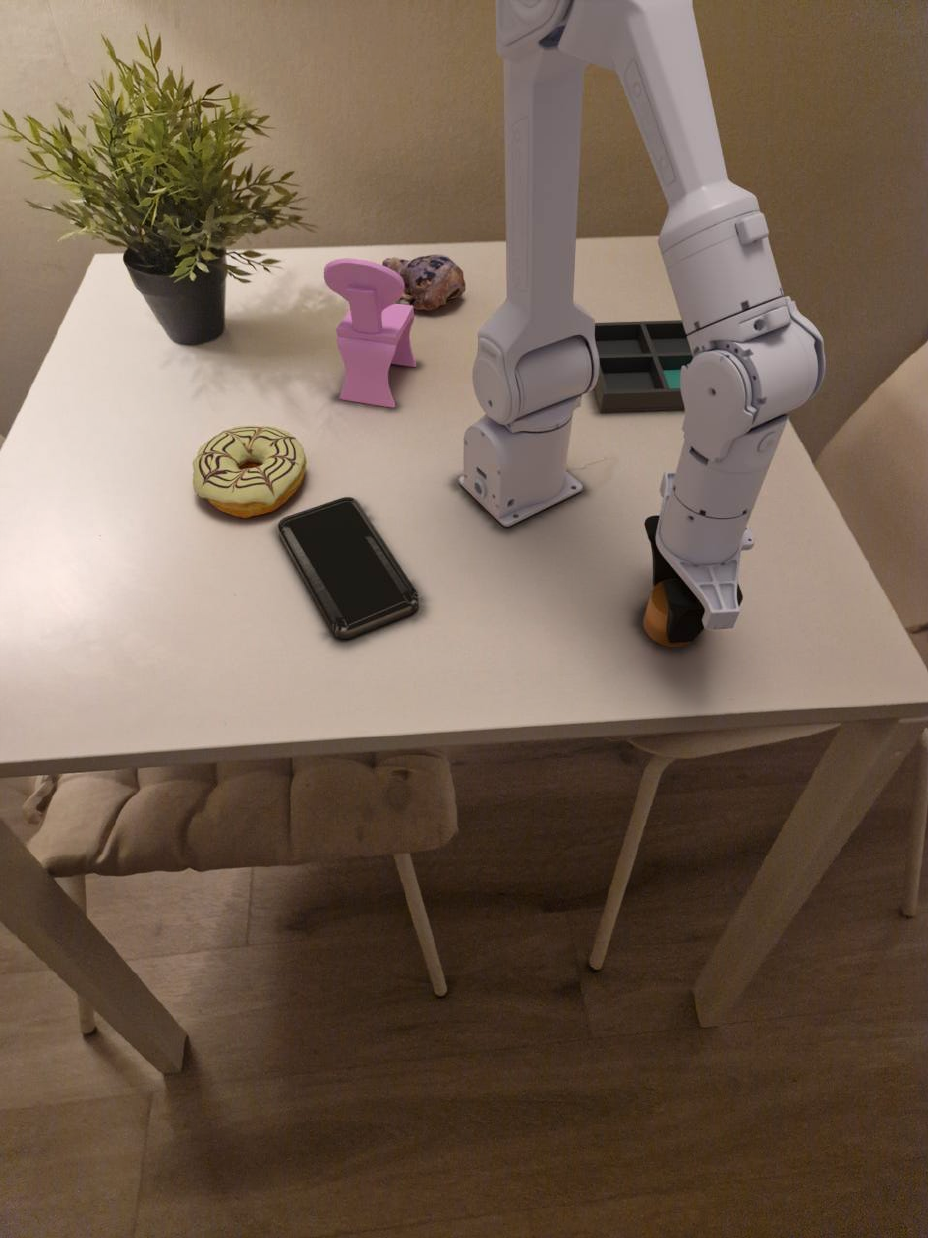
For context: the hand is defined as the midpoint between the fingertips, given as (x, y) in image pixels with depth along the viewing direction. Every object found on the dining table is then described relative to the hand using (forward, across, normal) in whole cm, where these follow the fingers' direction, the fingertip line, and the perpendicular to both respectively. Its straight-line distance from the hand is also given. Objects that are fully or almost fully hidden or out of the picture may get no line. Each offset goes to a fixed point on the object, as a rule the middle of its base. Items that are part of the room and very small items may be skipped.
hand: (673, 615), depth 65 cm
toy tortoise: (+2, +55, +19) cm, 58 cm away
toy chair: (+2, +37, +24) cm, 44 cm away
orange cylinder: (+1, 0, 0) cm, 1 cm away
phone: (+1, +8, +27) cm, 28 cm away
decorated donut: (+2, +20, +36) cm, 42 cm away
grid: (+1, +36, -6) cm, 37 cm away
